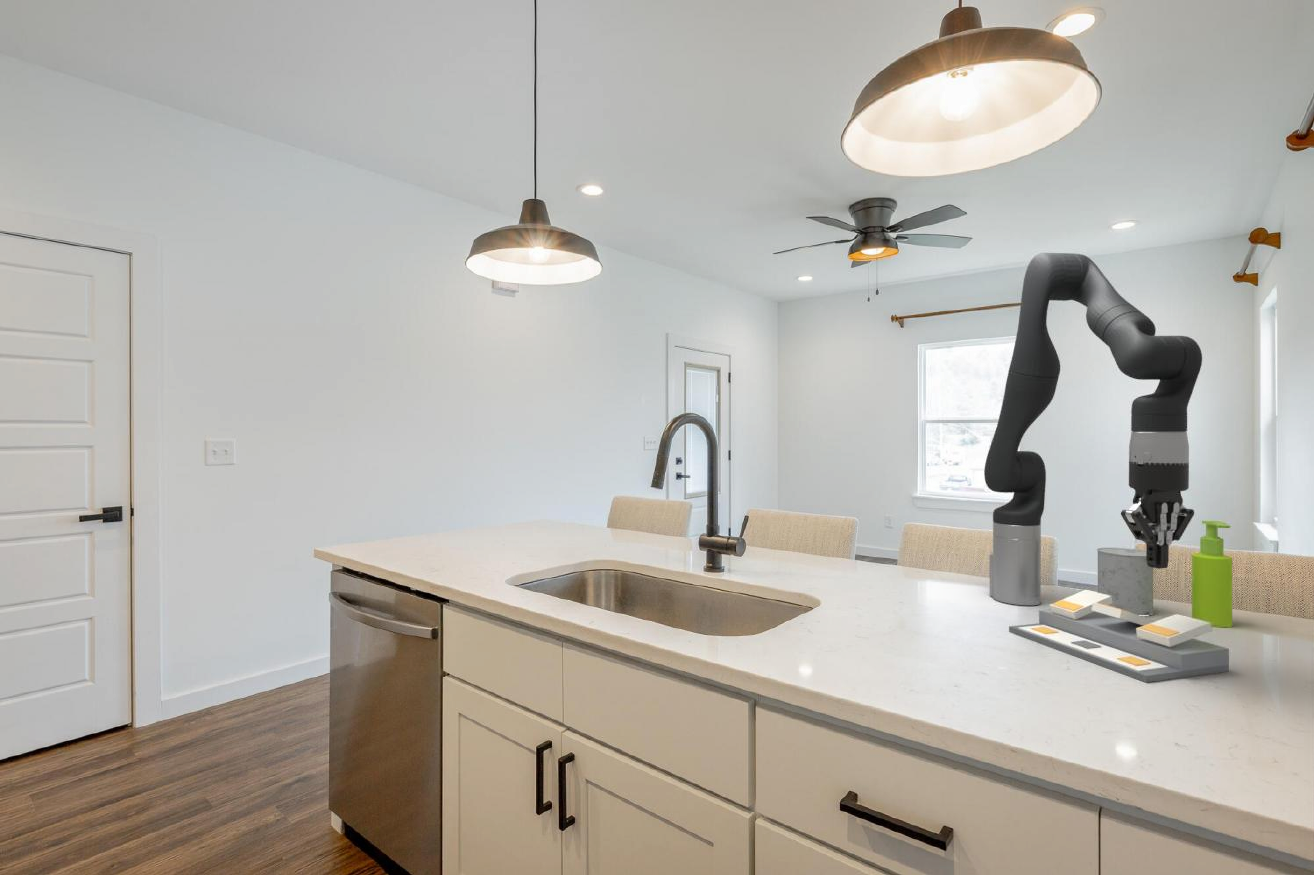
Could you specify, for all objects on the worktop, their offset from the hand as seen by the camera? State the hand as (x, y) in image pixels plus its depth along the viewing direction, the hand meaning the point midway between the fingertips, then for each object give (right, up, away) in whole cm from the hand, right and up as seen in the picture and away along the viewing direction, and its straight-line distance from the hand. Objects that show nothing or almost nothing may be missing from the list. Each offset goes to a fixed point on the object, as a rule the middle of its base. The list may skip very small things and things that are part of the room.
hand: (1157, 567), depth 100 cm
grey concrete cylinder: (+18, -16, +31) cm, 39 cm away
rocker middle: (0, -11, +7) cm, 13 cm away
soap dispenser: (+28, -16, +21) cm, 38 cm away
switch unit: (-3, -15, +6) cm, 17 cm away
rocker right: (+2, -11, -1) cm, 11 cm away
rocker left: (-2, -11, +15) cm, 18 cm away
